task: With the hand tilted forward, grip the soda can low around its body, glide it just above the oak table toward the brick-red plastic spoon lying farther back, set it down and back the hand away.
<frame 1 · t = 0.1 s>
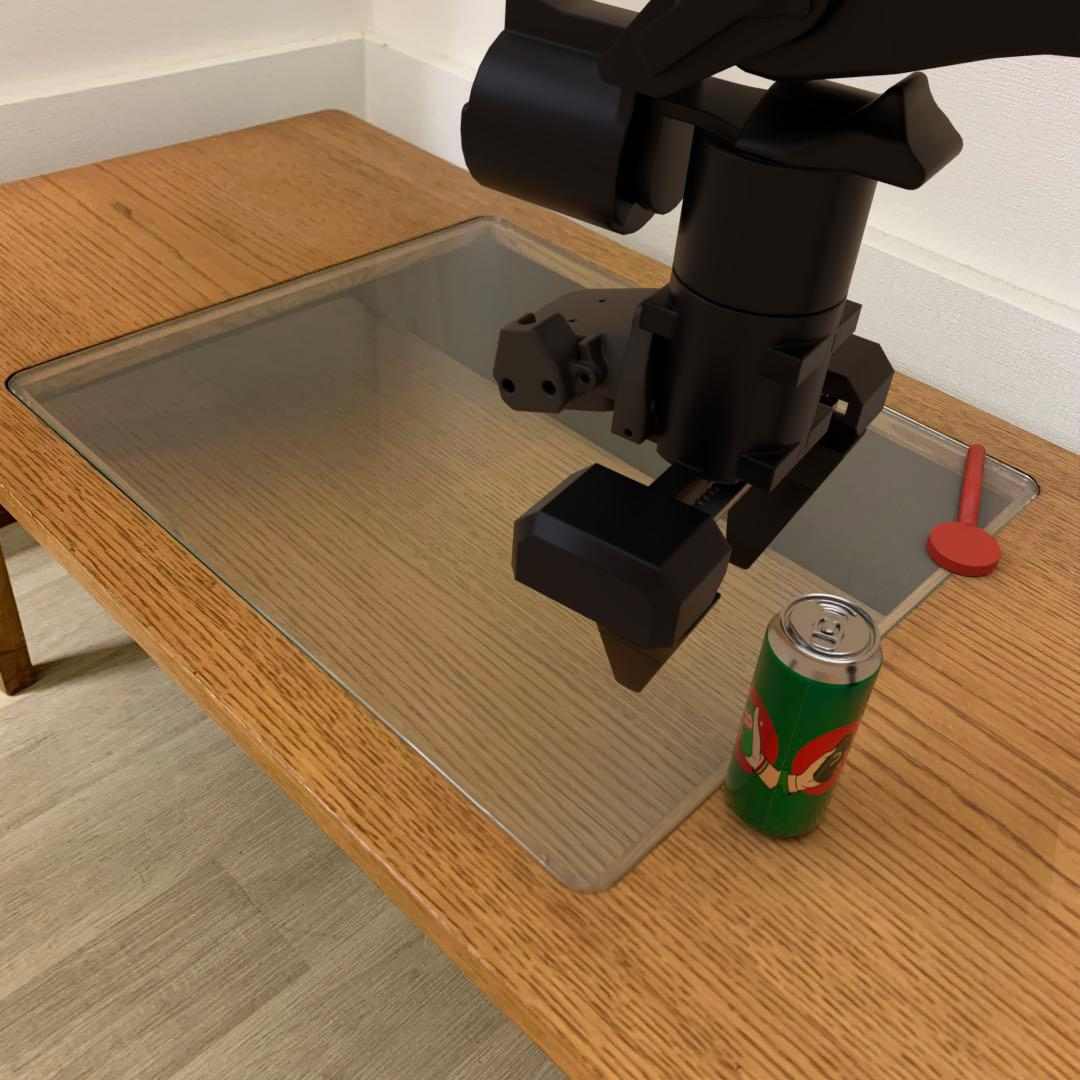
hand: (686, 620, 47), 13 cm above the table, tool pointing down, fingers open, 9 cm apart
soda can: (772, 803, 56), on the table
spoon: (966, 514, 75), on the table
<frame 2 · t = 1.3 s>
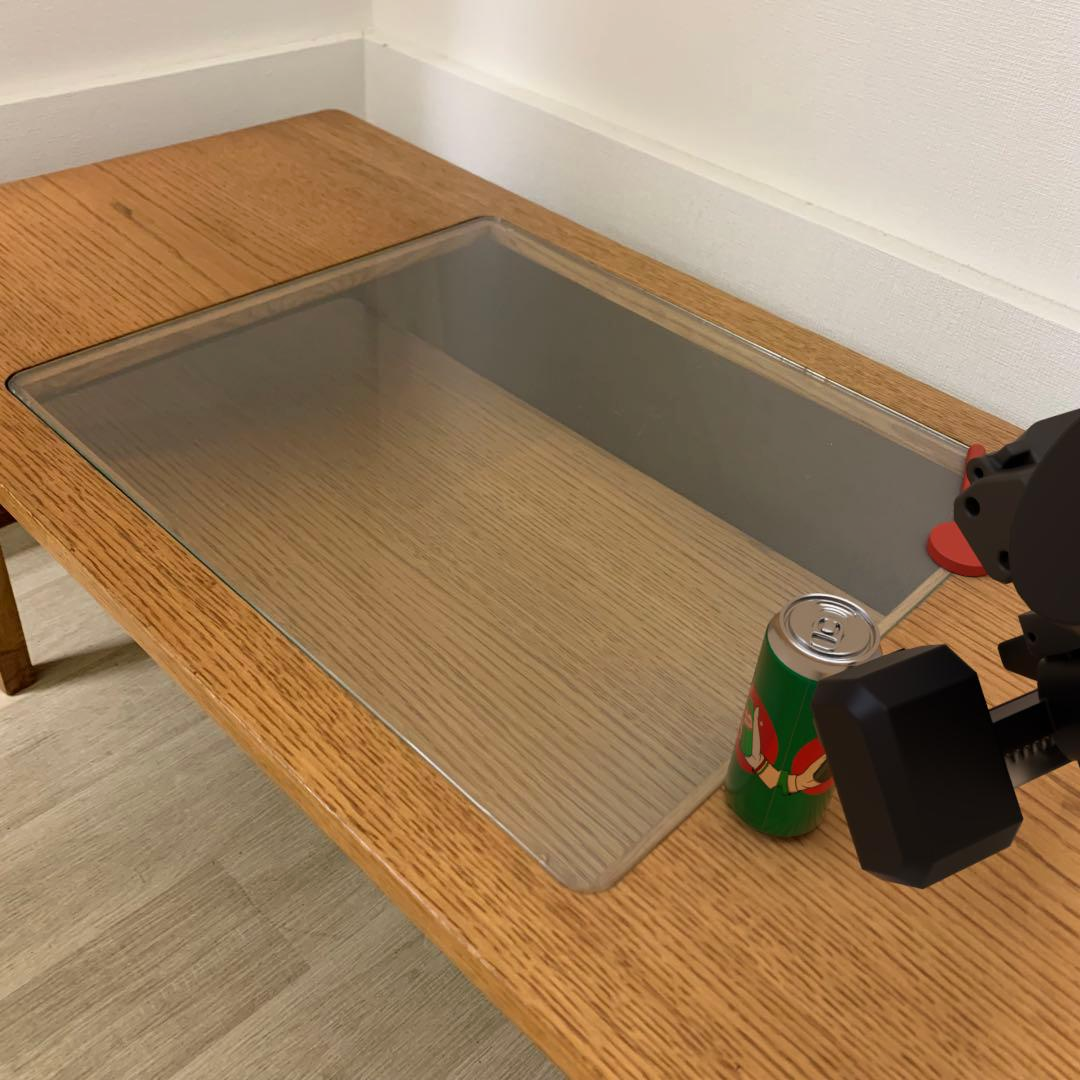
hand: (915, 691, 44), 13 cm above the table, tool tilted 45°, fingers open, 9 cm apart
nothing on the table moved.
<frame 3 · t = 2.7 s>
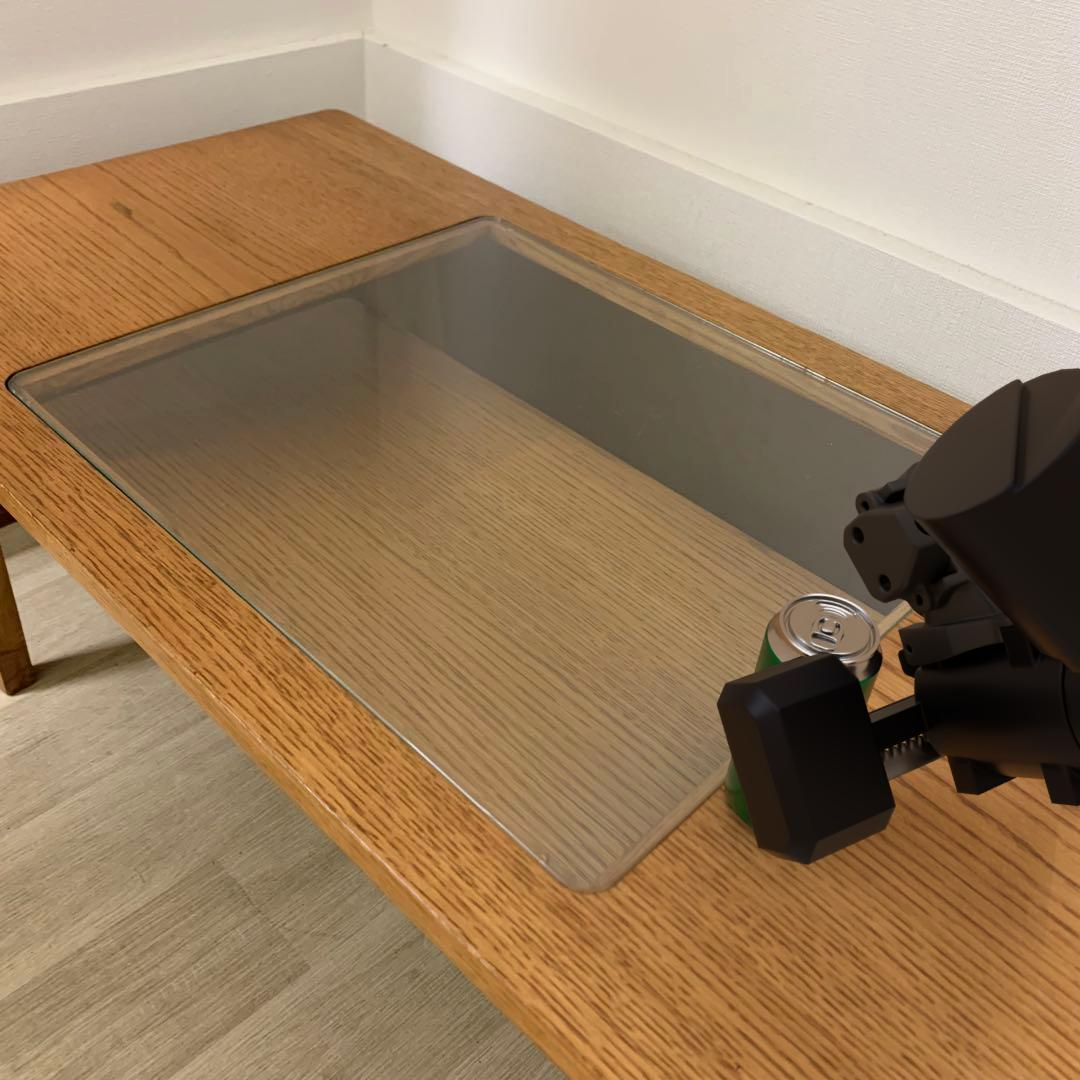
hand: (822, 692, 49), 9 cm above the table, tool tilted 45°, fingers open, 9 cm apart
nothing on the table moved.
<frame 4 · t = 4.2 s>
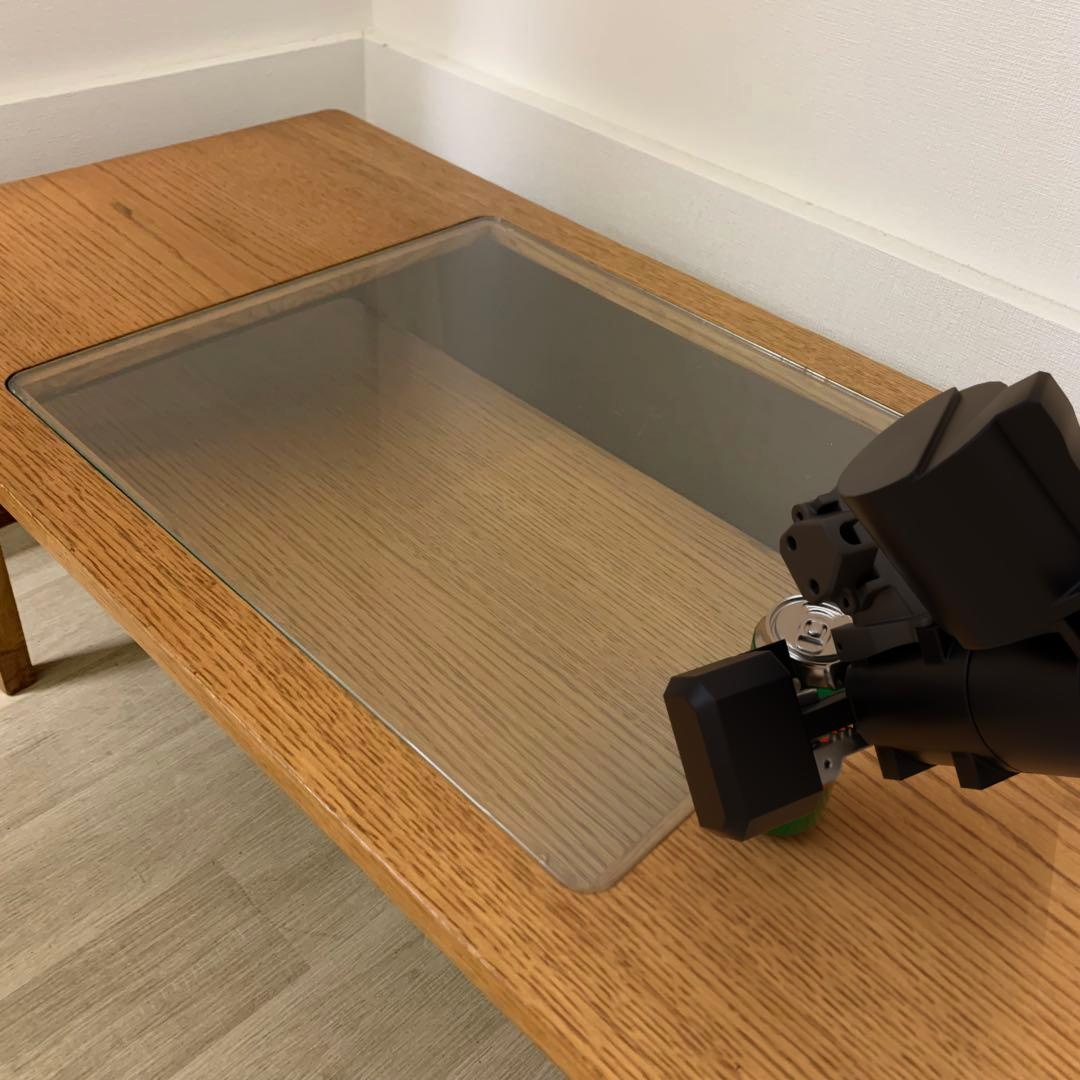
hand: (773, 687, 52), 7 cm above the table, tool tilted 45°, fingers closed on soda can, 5 cm apart
soda can: (773, 801, 56), on the table, touching gripper
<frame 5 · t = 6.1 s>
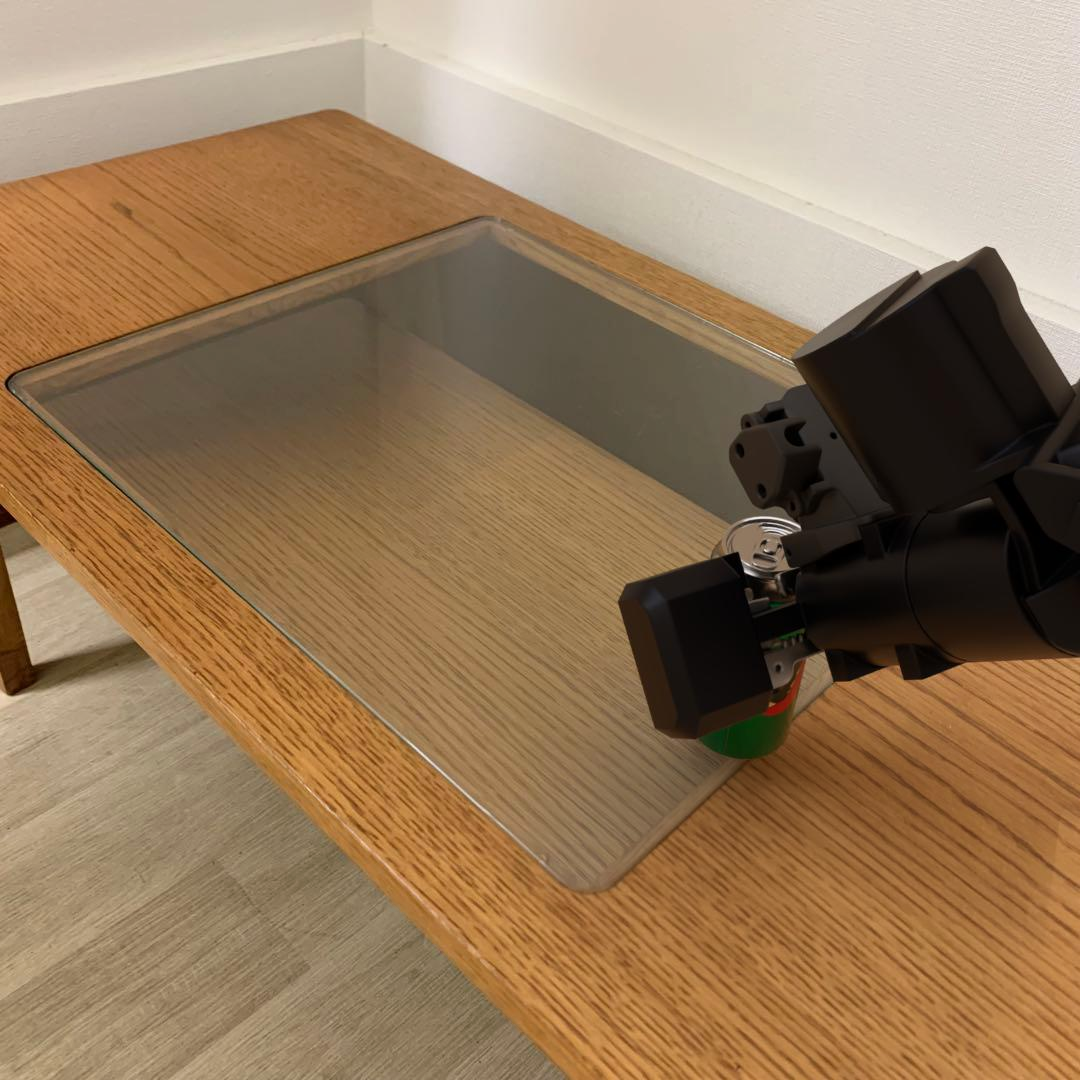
hand: (733, 612, 54), 8 cm above the table, tool tilted 45°, fingers closed on soda can, 5 cm apart
soda can: (736, 729, 57), point 2 cm above the table, touching gripper
when the fingers open (7 cm above the table, at t = 8.1 s): soda can stays where it is, on the table.
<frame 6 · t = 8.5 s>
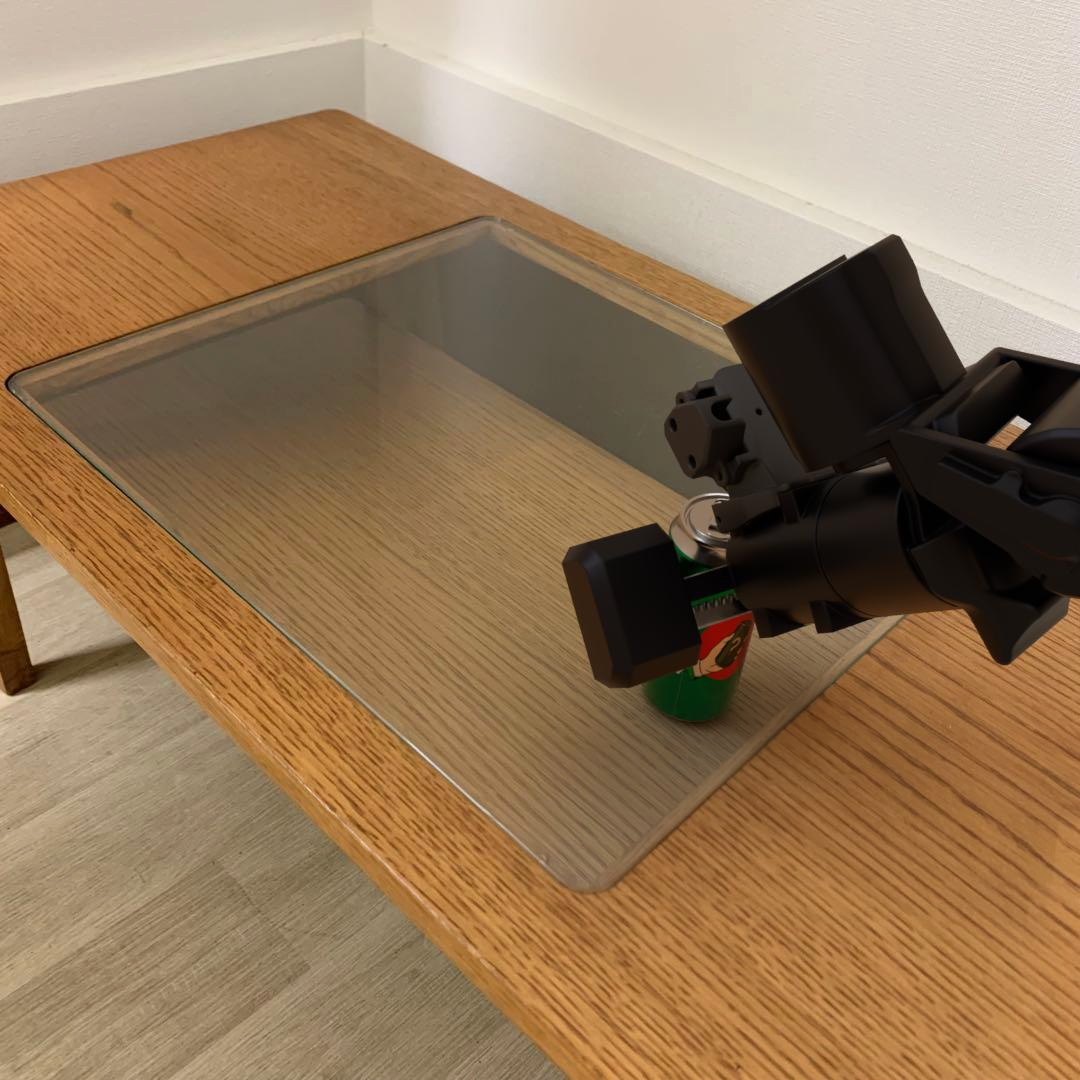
hand: (679, 579, 58), 7 cm above the table, tool tilted 45°, fingers open, 9 cm apart
soda can: (686, 695, 61), on the table
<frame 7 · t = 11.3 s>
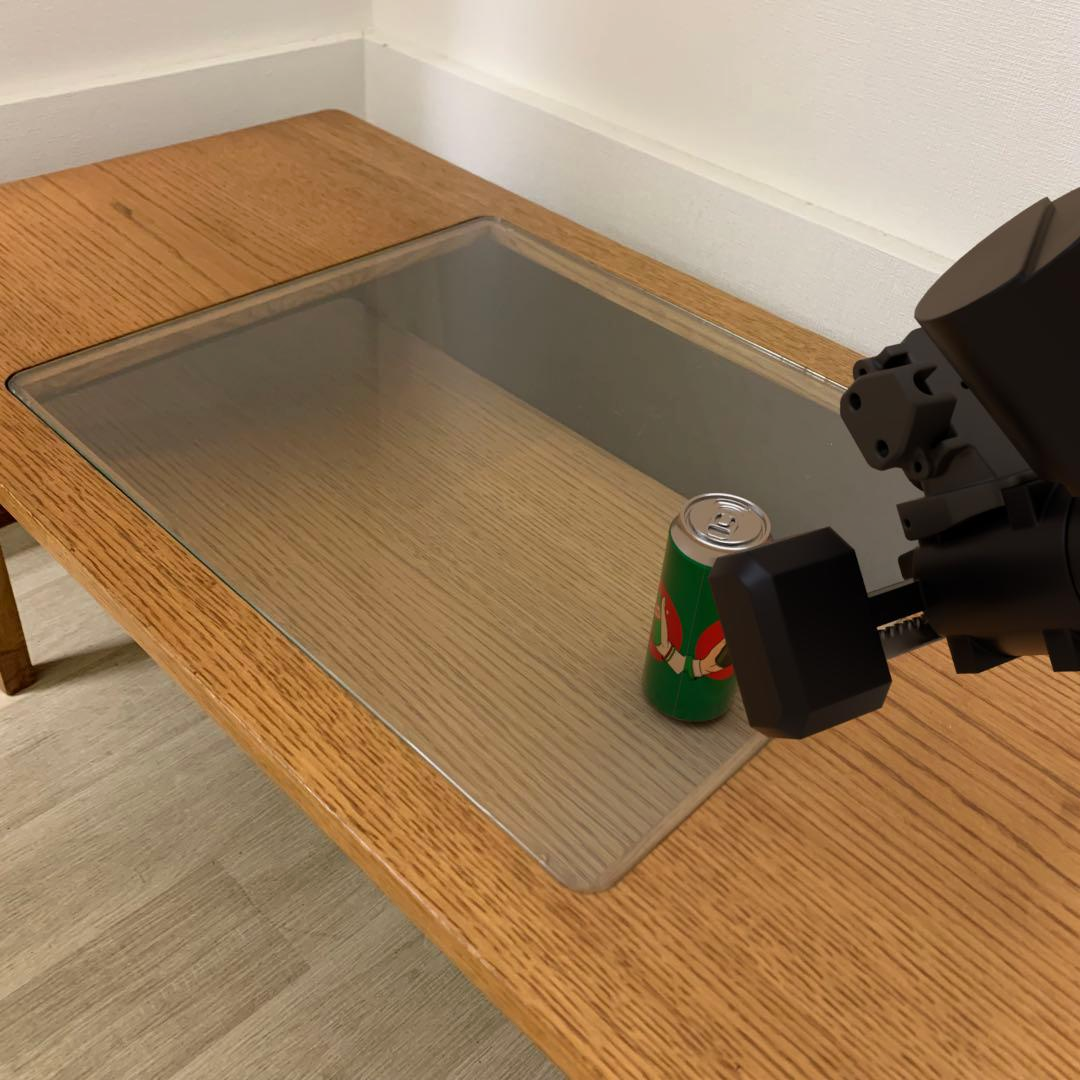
hand: (819, 595, 47), 13 cm above the table, tool tilted 45°, fingers open, 9 cm apart
nothing on the table moved.
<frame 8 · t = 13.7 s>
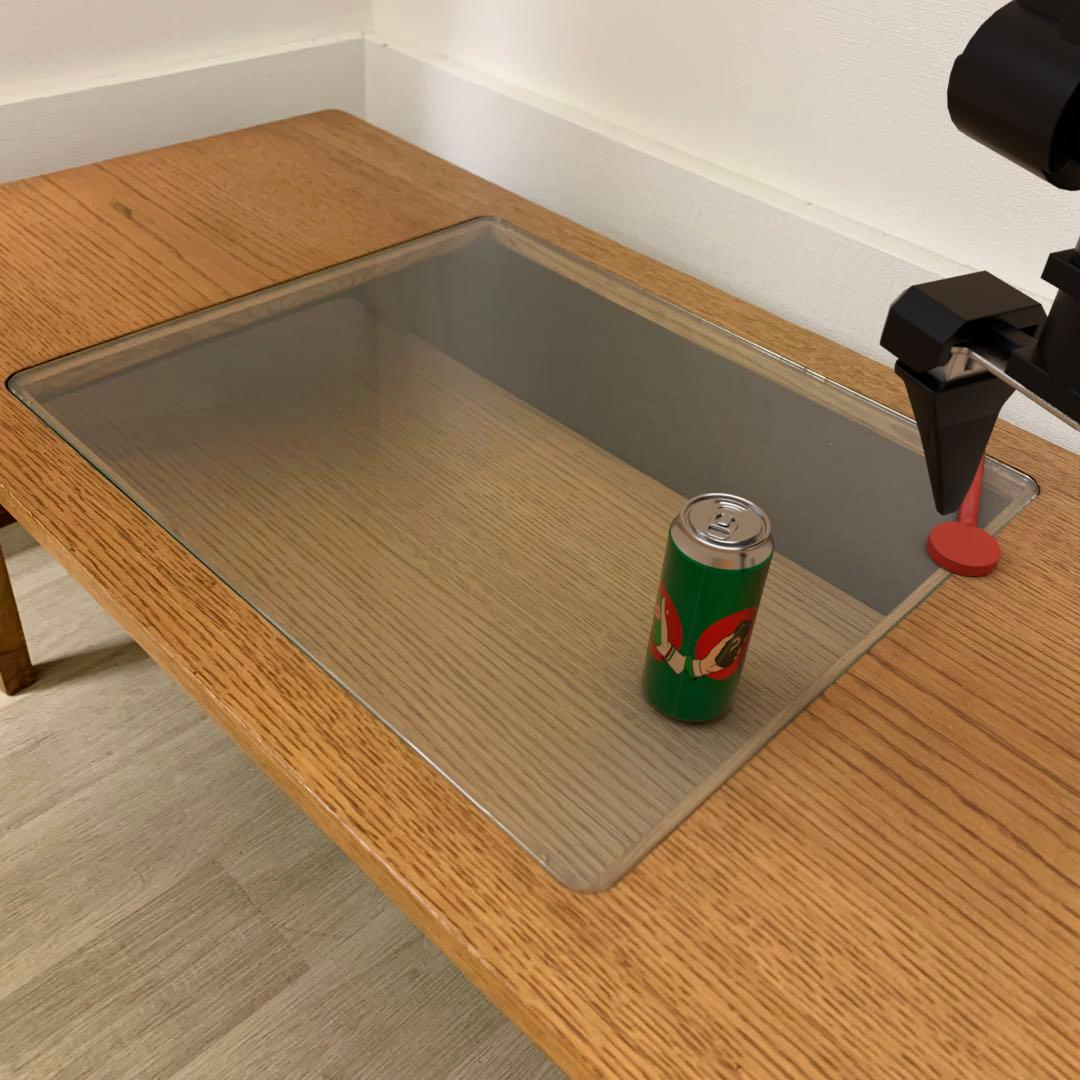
hand: (1019, 571, 50), 13 cm above the table, tool pointing down, fingers open, 9 cm apart
nothing on the table moved.
at the end: soda can 26.9 cm from the spoon (horizontally); soda can moved 7.8 cm from its start; soda can tilted 0° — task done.
